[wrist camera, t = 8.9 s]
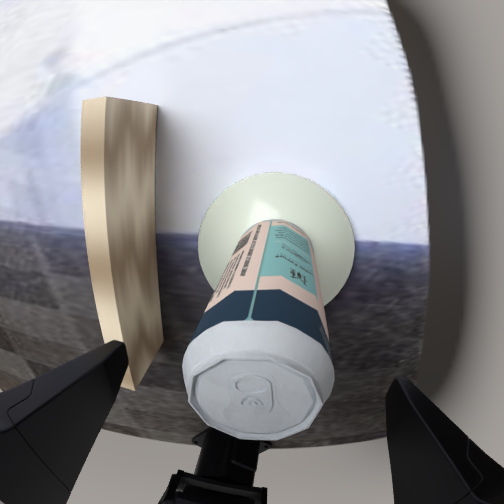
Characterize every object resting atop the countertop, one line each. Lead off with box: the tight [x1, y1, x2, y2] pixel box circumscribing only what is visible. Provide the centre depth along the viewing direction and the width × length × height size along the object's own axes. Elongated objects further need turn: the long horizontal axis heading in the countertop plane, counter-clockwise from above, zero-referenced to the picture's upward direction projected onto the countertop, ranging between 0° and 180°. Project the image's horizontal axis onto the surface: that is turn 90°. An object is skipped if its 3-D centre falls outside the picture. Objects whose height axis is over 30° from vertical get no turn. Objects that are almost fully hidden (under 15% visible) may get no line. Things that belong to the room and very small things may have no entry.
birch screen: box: [81, 97, 164, 391], centre depth 18 cm, size 18×2×6 cm, turn 176°
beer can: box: [182, 219, 334, 440], centre depth 13 cm, size 5×5×12 cm
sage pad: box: [198, 172, 355, 306], centre depth 19 cm, size 10×10×1 cm
